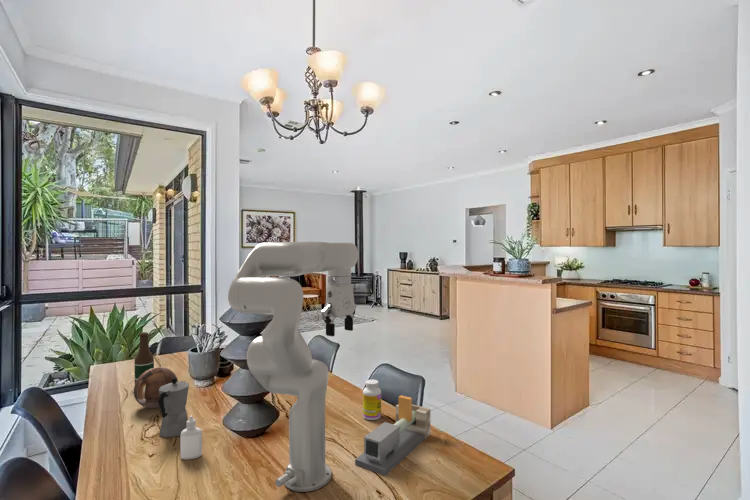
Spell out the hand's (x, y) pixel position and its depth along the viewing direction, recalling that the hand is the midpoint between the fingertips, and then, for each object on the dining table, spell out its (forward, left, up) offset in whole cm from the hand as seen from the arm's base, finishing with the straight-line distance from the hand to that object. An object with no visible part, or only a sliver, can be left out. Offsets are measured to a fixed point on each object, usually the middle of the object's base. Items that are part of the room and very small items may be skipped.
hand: (339, 332), depth 127 cm
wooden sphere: (-22, +73, -34) cm, 83 cm away
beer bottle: (-14, +99, -34) cm, 105 cm away
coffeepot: (-30, +47, -34) cm, 65 cm away
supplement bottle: (+16, -2, -34) cm, 37 cm away
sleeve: (-5, -20, -32) cm, 38 cm away
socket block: (+13, -20, -33) cm, 41 cm away
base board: (0, -20, -33) cm, 39 cm away
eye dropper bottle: (-35, +28, -34) cm, 56 cm away
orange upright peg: (+6, -20, -29) cm, 36 cm away
